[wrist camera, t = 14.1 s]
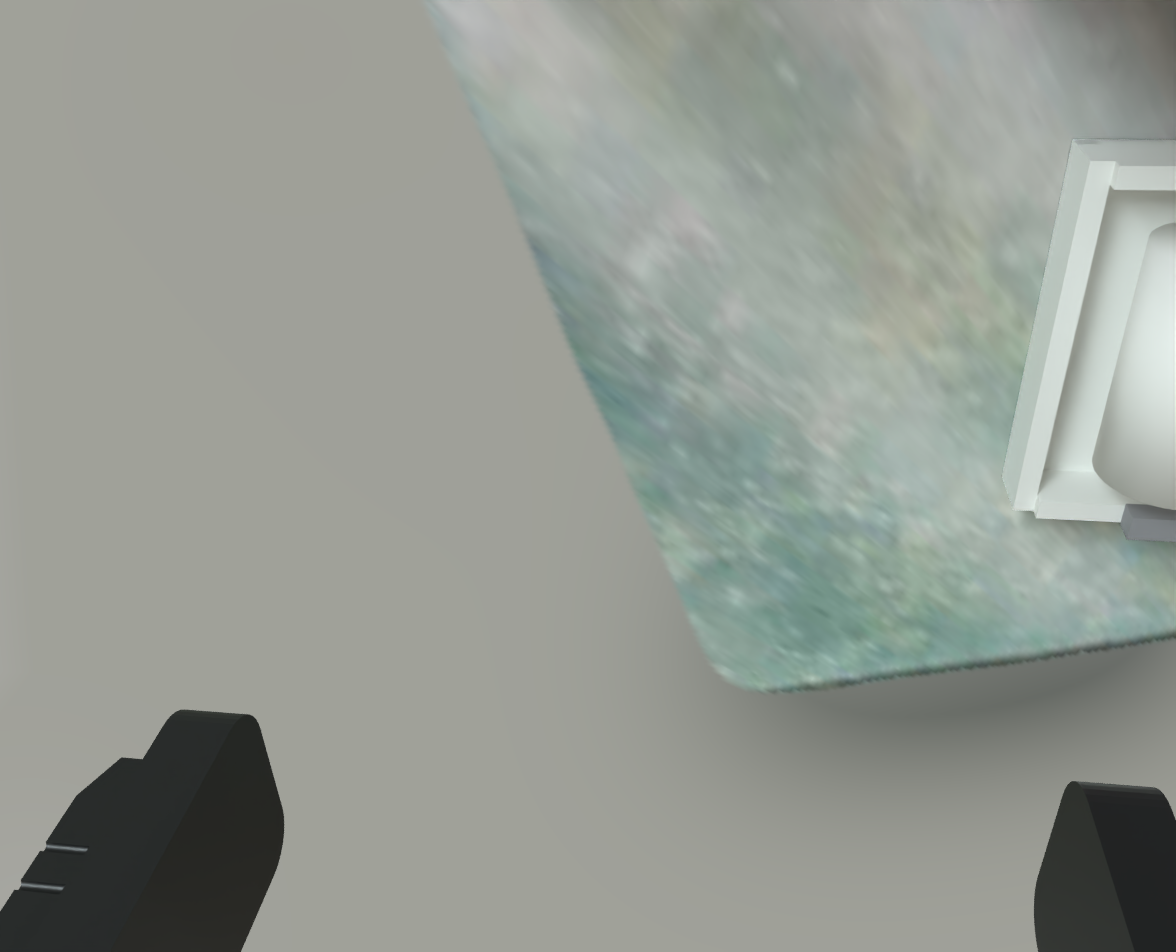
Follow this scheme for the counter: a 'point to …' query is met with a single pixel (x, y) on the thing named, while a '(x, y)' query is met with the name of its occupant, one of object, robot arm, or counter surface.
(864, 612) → the counter surface
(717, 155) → the counter surface
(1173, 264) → the paper roll
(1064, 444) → the holder
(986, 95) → the counter surface
